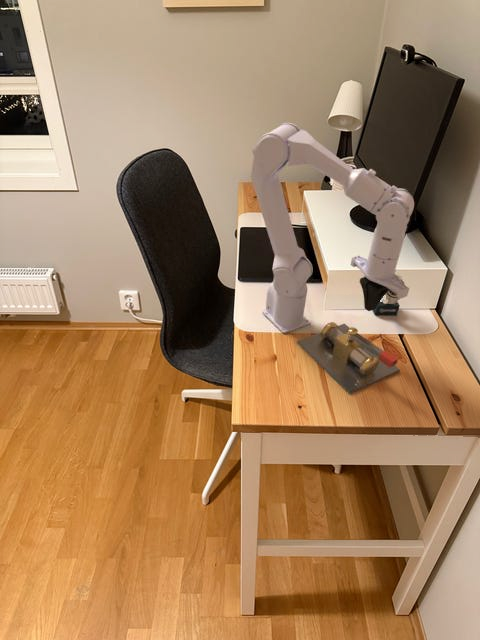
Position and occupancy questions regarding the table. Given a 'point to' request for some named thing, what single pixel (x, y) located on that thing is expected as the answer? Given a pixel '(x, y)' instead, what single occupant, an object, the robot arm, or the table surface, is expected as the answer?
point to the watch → (388, 304)
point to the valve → (345, 358)
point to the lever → (372, 348)
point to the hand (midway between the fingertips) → (369, 308)
